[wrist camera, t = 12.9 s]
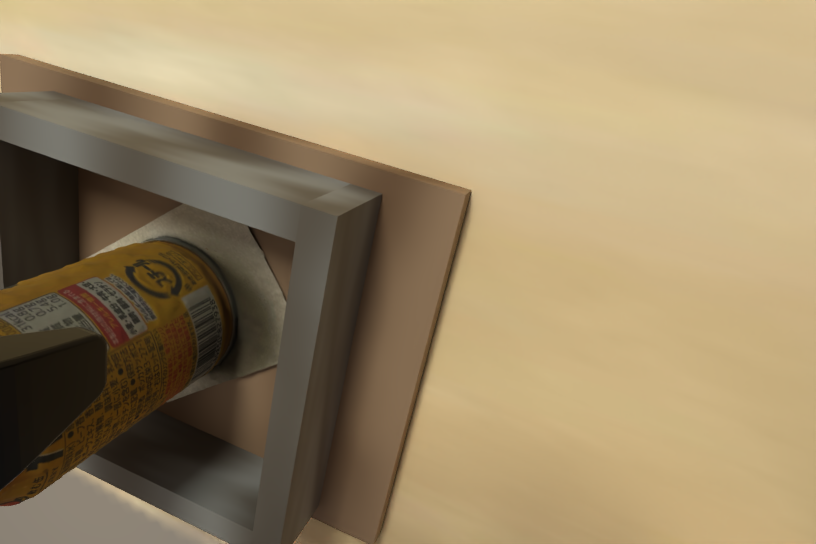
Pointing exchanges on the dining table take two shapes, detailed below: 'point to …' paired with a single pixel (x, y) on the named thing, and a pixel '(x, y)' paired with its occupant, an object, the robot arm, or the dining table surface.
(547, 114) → the dining table surface
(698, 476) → the dining table surface
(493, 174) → the dining table surface
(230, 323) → the condiment
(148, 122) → the well caddy
